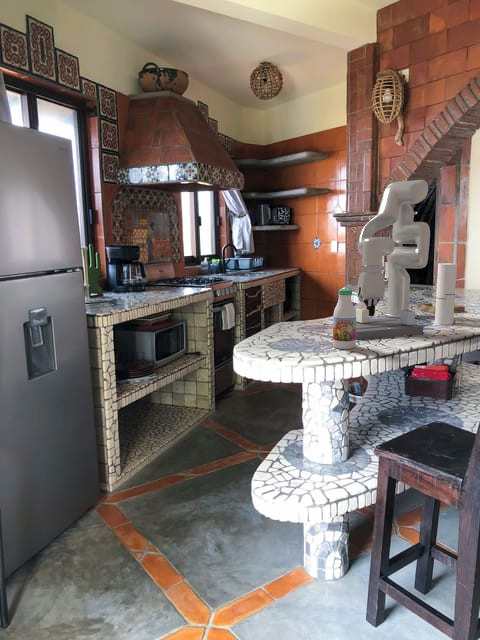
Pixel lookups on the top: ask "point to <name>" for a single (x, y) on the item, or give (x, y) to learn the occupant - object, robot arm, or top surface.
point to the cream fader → (362, 315)
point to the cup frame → (432, 309)
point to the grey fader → (407, 317)
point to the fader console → (385, 329)
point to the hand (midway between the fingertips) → (370, 315)
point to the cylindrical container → (445, 293)
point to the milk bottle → (344, 321)
